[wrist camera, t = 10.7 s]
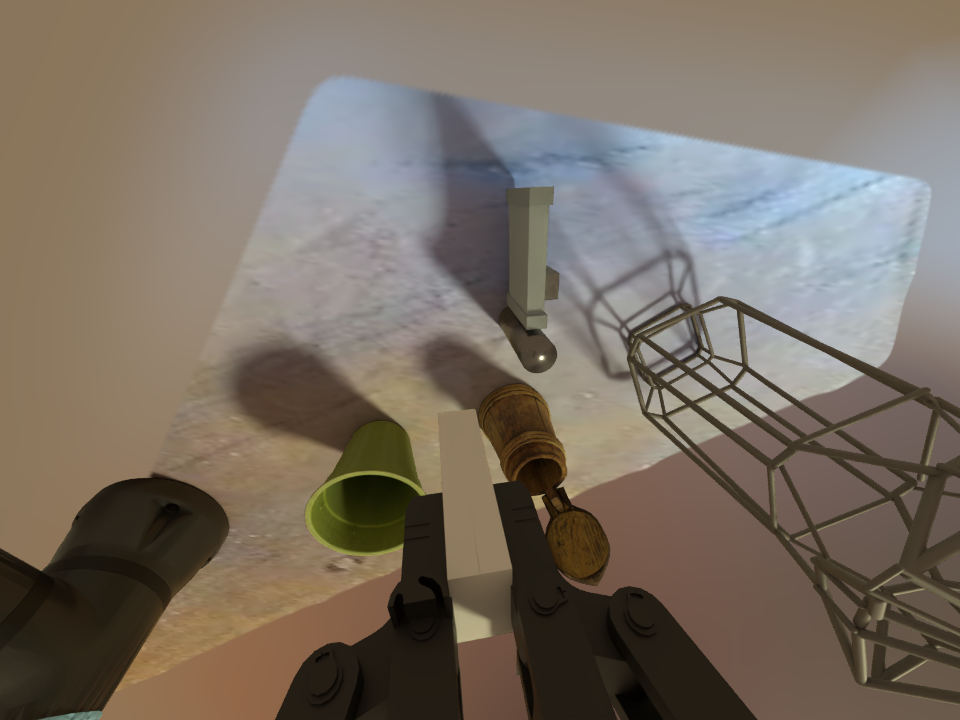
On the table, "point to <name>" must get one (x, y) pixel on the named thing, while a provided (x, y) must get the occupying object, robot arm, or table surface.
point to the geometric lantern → (914, 552)
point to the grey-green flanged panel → (528, 253)
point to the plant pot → (366, 493)
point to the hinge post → (528, 343)
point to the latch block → (551, 284)
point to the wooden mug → (544, 478)
